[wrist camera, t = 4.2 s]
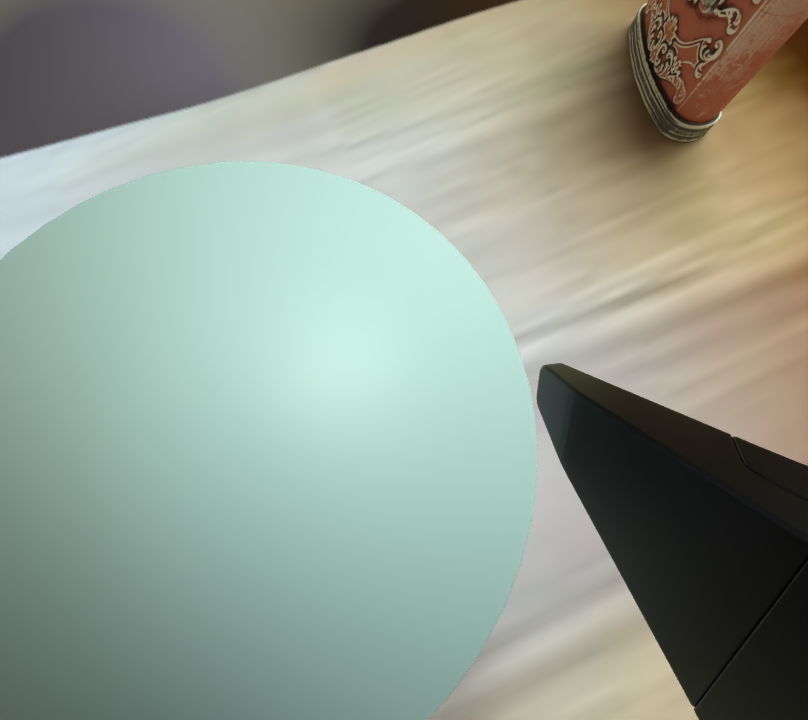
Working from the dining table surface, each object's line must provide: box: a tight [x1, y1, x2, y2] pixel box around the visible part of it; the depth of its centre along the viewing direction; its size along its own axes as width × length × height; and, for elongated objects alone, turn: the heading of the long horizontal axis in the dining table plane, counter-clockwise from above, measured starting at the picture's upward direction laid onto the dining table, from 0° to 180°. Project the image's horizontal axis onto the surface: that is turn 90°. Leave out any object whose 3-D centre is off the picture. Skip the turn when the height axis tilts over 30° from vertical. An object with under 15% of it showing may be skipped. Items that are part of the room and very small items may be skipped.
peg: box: [0, 161, 537, 720], centre depth 9 cm, size 4×4×13 cm
